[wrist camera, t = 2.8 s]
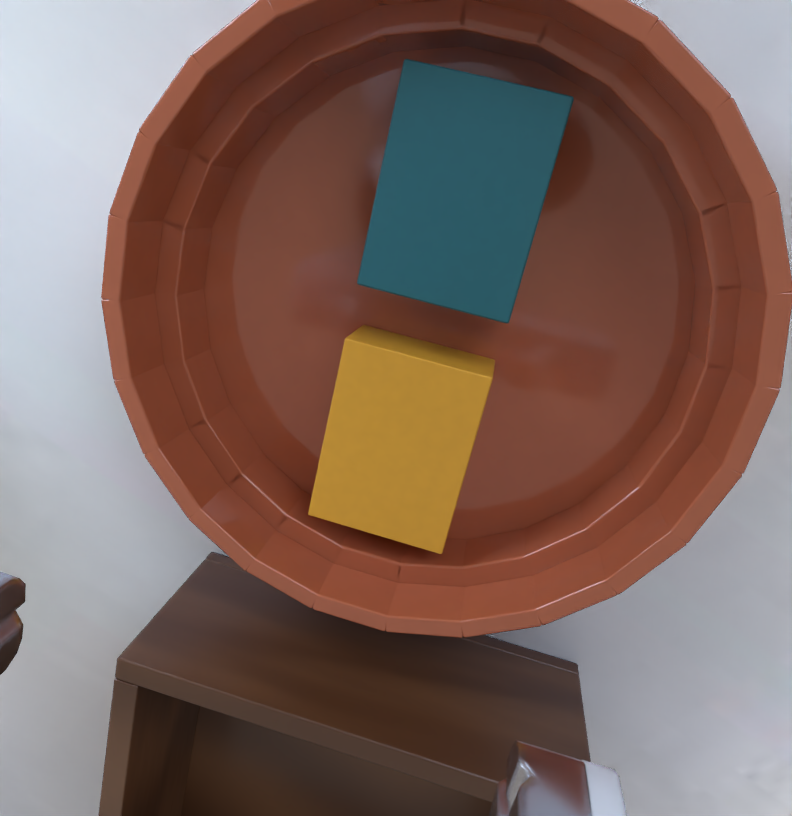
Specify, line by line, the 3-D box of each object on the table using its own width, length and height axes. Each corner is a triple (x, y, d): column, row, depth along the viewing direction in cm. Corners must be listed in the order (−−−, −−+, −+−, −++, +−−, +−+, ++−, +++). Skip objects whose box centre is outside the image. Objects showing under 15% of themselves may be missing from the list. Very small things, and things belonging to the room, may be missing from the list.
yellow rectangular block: (362, 324, 22) (344, 337, 20) (495, 359, 22) (493, 377, 19) (327, 484, 24) (307, 515, 22) (449, 520, 23) (441, 555, 21)
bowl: (217, -54, 20) (137, -126, 16) (836, 79, 18) (934, 40, 14) (151, 483, 26) (79, 538, 21) (618, 623, 24) (640, 712, 20)
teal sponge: (417, 76, 20) (403, 57, 17) (567, 110, 19) (574, 96, 17) (373, 276, 22) (355, 284, 19) (509, 311, 21) (508, 324, 19)
